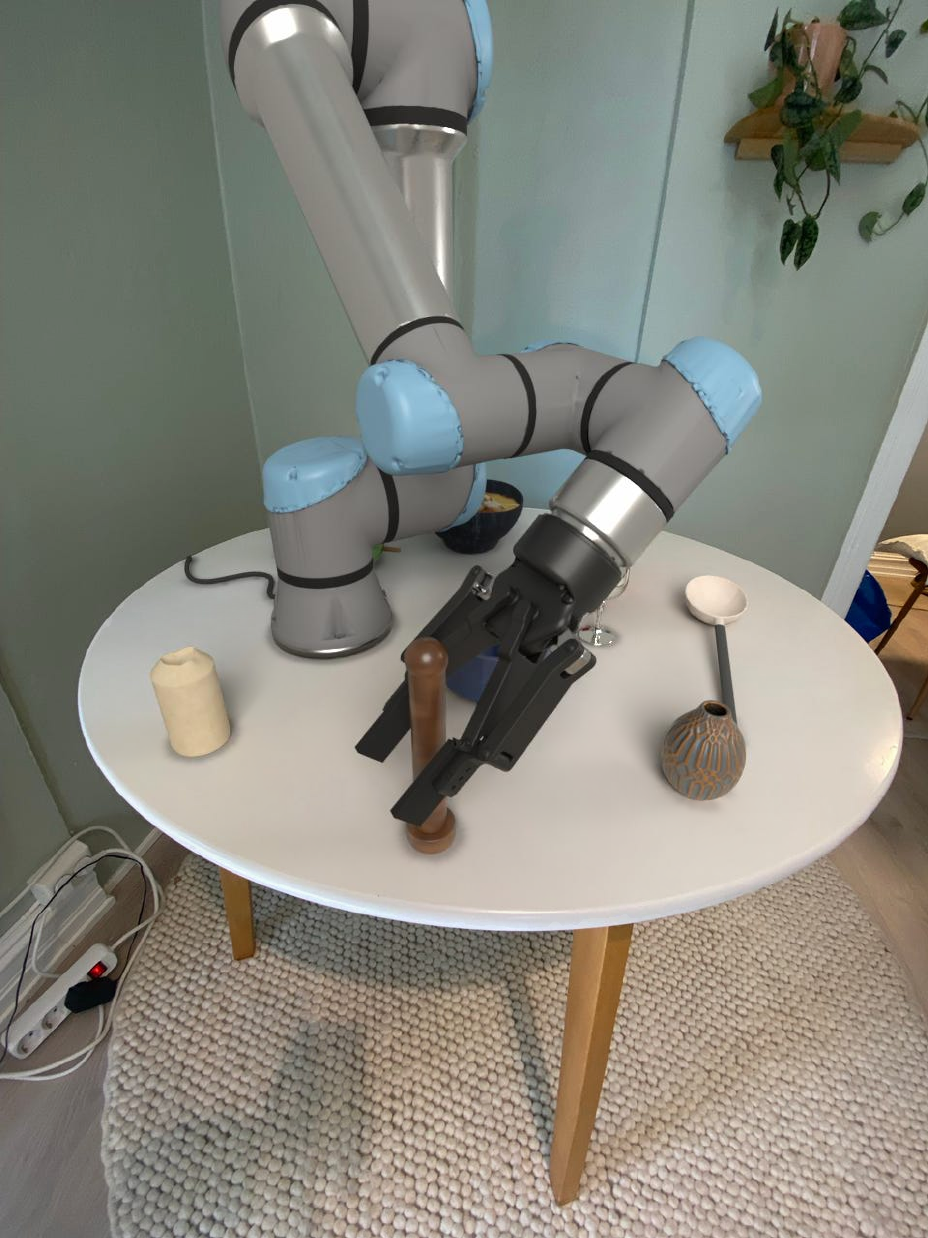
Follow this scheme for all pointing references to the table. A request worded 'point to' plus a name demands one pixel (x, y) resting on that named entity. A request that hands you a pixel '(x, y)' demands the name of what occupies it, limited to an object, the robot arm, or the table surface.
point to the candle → (191, 701)
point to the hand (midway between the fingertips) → (386, 784)
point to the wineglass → (597, 633)
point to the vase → (704, 752)
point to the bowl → (486, 520)
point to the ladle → (718, 620)
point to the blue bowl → (475, 674)
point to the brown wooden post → (428, 735)
